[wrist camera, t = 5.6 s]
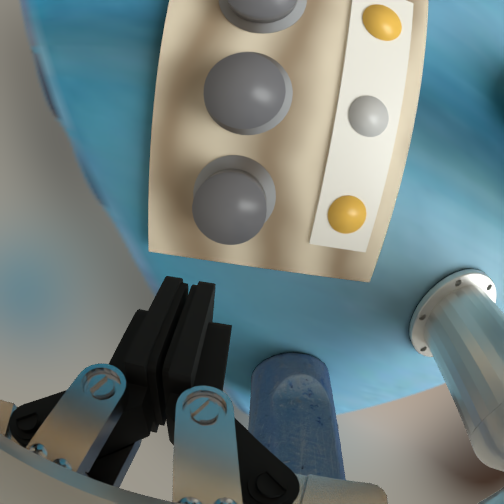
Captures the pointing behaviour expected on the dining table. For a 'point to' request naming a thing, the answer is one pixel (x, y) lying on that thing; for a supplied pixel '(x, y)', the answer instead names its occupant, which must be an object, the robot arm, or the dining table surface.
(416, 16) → the button board
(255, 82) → the button middle
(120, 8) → the dining table surface
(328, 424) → the bottle
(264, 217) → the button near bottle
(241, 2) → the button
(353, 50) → the pattern card
